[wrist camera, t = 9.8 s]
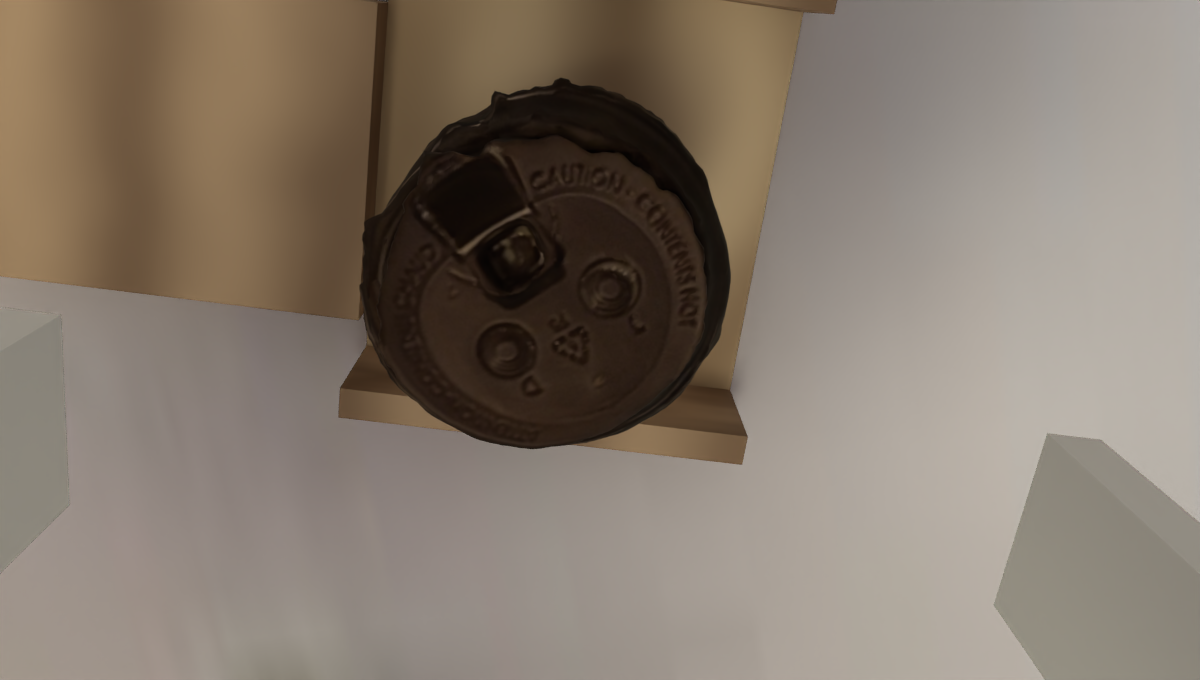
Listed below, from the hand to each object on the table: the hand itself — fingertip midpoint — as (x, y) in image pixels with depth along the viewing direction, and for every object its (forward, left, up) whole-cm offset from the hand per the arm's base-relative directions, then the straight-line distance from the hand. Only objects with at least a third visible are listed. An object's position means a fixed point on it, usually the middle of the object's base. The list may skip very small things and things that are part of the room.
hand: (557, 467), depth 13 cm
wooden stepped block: (-8, 0, -21) cm, 23 cm away
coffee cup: (0, 0, -21) cm, 21 cm away
